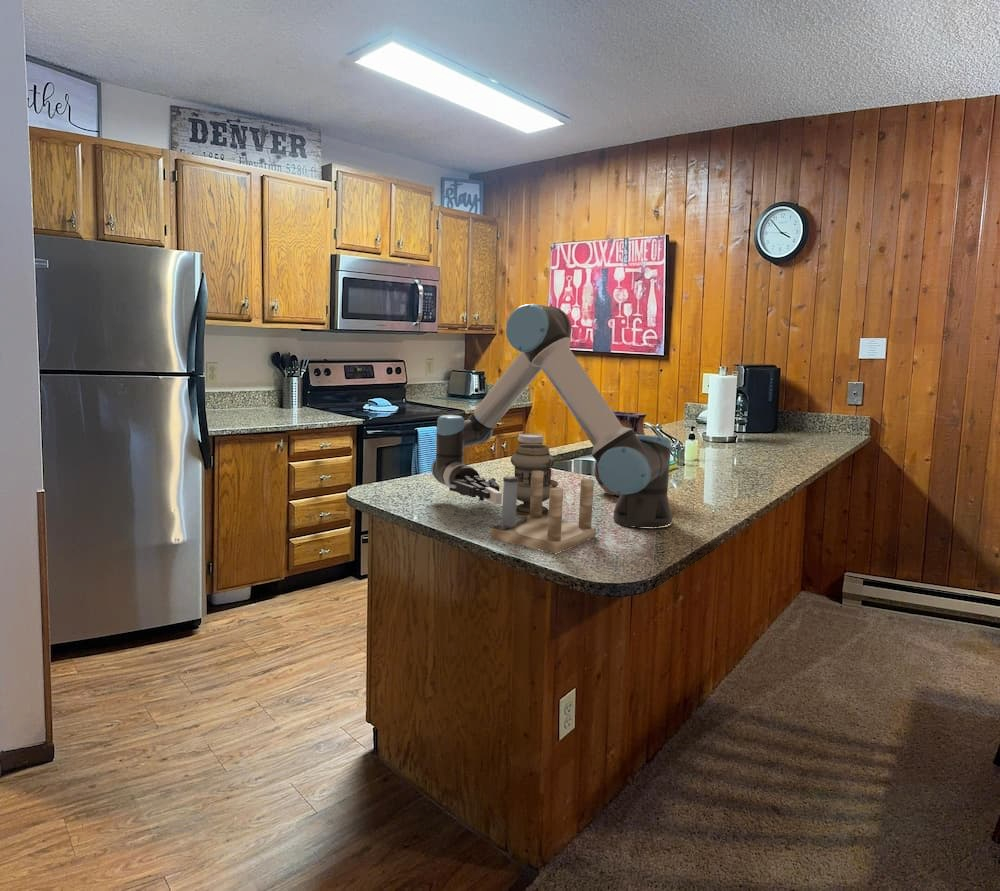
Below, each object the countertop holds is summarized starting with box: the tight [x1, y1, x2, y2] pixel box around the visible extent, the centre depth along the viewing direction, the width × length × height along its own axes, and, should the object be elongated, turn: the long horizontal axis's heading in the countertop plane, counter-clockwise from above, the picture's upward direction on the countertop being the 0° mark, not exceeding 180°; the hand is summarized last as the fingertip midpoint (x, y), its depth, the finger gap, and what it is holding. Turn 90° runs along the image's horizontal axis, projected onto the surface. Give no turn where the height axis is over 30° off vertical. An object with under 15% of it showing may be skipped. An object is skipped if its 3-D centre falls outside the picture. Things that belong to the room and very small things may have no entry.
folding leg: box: [501, 476, 528, 529], centre depth 168 cm, size 11×3×12 cm, turn 155°
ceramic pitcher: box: [593, 410, 647, 497], centre depth 218 cm, size 18×21×25 cm
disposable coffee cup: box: [517, 433, 545, 445], centre depth 254 cm, size 10×10×12 cm
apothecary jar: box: [510, 444, 555, 516], centre depth 192 cm, size 12×12×18 cm
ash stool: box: [490, 470, 597, 554], centre depth 167 cm, size 18×18×14 cm
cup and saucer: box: [549, 468, 559, 488], centre depth 223 cm, size 12×12×6 cm
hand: (498, 498), depth 168 cm, fingers closed
